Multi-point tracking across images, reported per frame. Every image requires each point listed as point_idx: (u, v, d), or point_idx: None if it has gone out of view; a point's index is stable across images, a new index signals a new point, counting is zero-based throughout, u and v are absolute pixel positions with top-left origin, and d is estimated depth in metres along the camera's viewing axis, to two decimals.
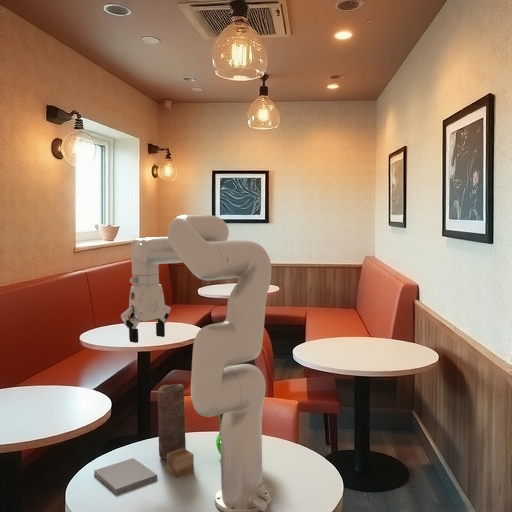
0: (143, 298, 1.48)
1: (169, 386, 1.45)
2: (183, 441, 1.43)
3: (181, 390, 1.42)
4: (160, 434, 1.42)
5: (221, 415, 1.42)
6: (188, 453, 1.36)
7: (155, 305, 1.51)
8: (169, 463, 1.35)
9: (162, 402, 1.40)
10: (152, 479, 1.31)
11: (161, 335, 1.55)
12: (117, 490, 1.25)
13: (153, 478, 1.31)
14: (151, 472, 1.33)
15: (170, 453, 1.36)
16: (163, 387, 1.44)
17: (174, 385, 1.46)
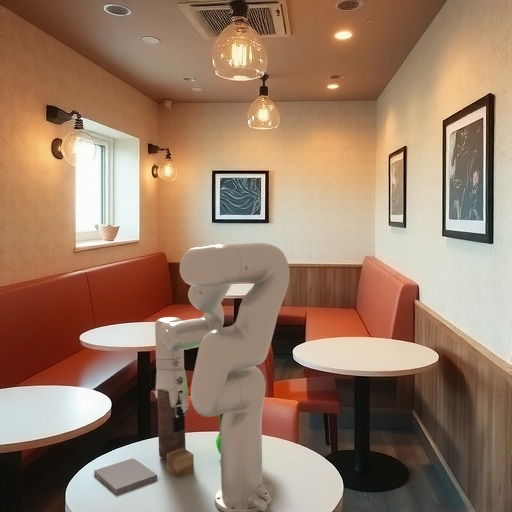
0: None
1: None
2: (183, 441, 1.43)
3: None
4: (160, 434, 1.42)
5: (221, 415, 1.42)
6: (188, 453, 1.36)
7: None
8: (169, 463, 1.35)
9: (162, 401, 1.40)
10: (152, 479, 1.31)
11: None
12: (117, 490, 1.25)
13: (153, 478, 1.31)
14: (151, 472, 1.33)
15: (170, 453, 1.36)
16: None
17: None
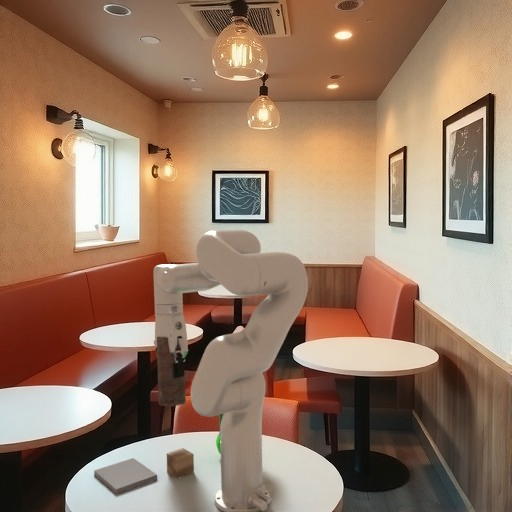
0: None
1: None
2: (183, 388, 1.42)
3: None
4: (159, 381, 1.41)
5: (221, 415, 1.42)
6: (188, 453, 1.36)
7: None
8: (169, 463, 1.35)
9: (161, 347, 1.39)
10: (152, 479, 1.31)
11: None
12: (117, 490, 1.25)
13: (153, 478, 1.31)
14: (151, 472, 1.33)
15: (170, 453, 1.36)
16: None
17: None
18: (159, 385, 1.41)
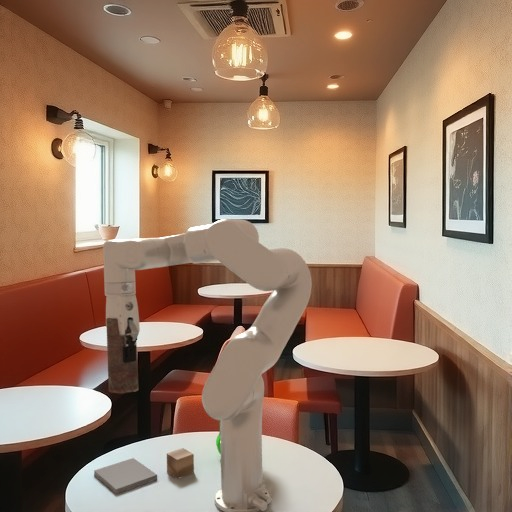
0: None
1: None
2: (134, 374, 1.31)
3: None
4: (109, 366, 1.30)
5: None
6: (188, 453, 1.36)
7: None
8: (169, 463, 1.35)
9: (111, 330, 1.28)
10: (152, 479, 1.31)
11: None
12: (117, 490, 1.25)
13: (153, 478, 1.31)
14: (151, 472, 1.33)
15: (170, 453, 1.36)
16: None
17: None
18: (108, 370, 1.30)
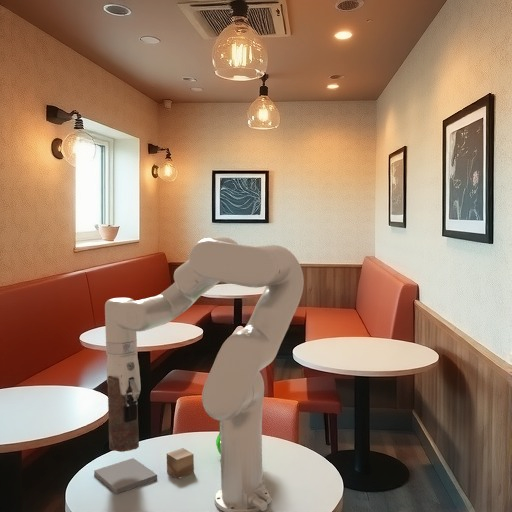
0: None
1: None
2: (135, 432, 1.32)
3: None
4: (110, 424, 1.30)
5: None
6: (188, 453, 1.36)
7: None
8: (169, 463, 1.35)
9: (112, 389, 1.29)
10: (152, 479, 1.31)
11: None
12: (117, 490, 1.25)
13: (153, 478, 1.31)
14: (151, 472, 1.33)
15: (170, 453, 1.36)
16: None
17: None
18: (109, 429, 1.31)
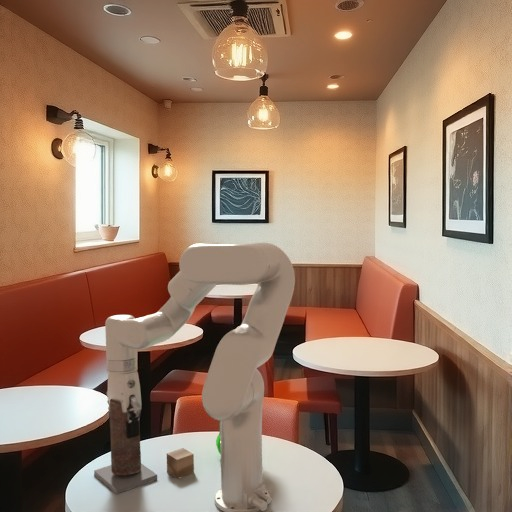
0: None
1: None
2: (137, 455, 1.31)
3: None
4: (112, 448, 1.30)
5: None
6: (188, 453, 1.36)
7: None
8: (169, 463, 1.35)
9: (114, 413, 1.29)
10: (152, 479, 1.31)
11: None
12: (117, 490, 1.25)
13: (153, 478, 1.31)
14: (151, 472, 1.33)
15: (170, 453, 1.36)
16: None
17: None
18: (111, 452, 1.31)
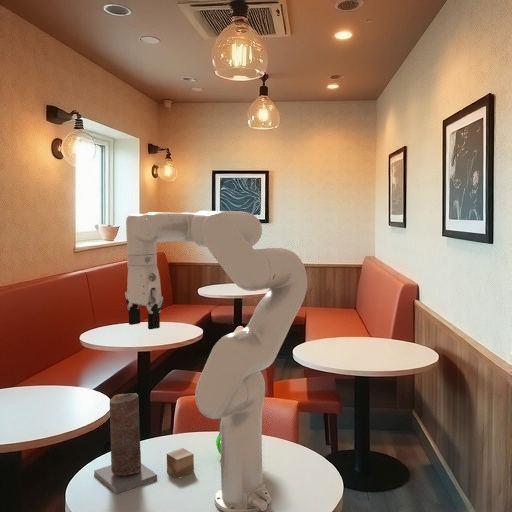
0: None
1: (123, 395, 1.34)
2: (137, 455, 1.31)
3: (135, 400, 1.30)
4: (112, 448, 1.30)
5: None
6: (188, 453, 1.36)
7: None
8: (169, 463, 1.35)
9: (114, 413, 1.29)
10: (152, 479, 1.31)
11: (138, 322, 1.42)
12: (117, 490, 1.25)
13: (153, 478, 1.31)
14: (151, 472, 1.33)
15: (170, 453, 1.36)
16: (116, 397, 1.33)
17: (128, 394, 1.34)
18: (111, 452, 1.31)
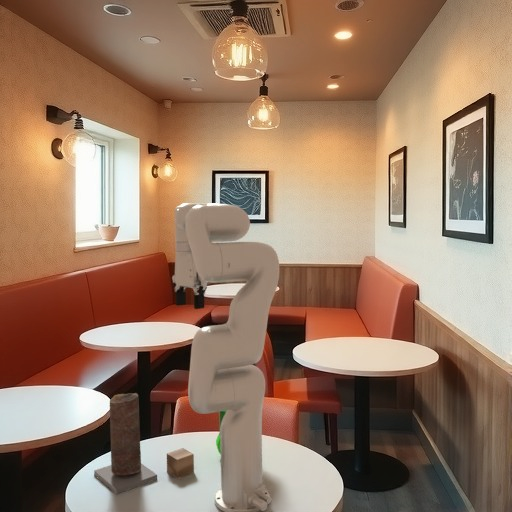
0: None
1: (123, 395, 1.34)
2: (137, 455, 1.31)
3: (135, 400, 1.30)
4: (112, 448, 1.30)
5: (221, 415, 1.42)
6: (188, 453, 1.36)
7: None
8: (169, 463, 1.35)
9: (114, 413, 1.29)
10: (152, 479, 1.31)
11: (184, 303, 1.57)
12: (117, 490, 1.25)
13: (153, 478, 1.31)
14: (151, 472, 1.33)
15: (170, 453, 1.36)
16: (116, 397, 1.33)
17: (128, 394, 1.34)
18: (111, 452, 1.31)
